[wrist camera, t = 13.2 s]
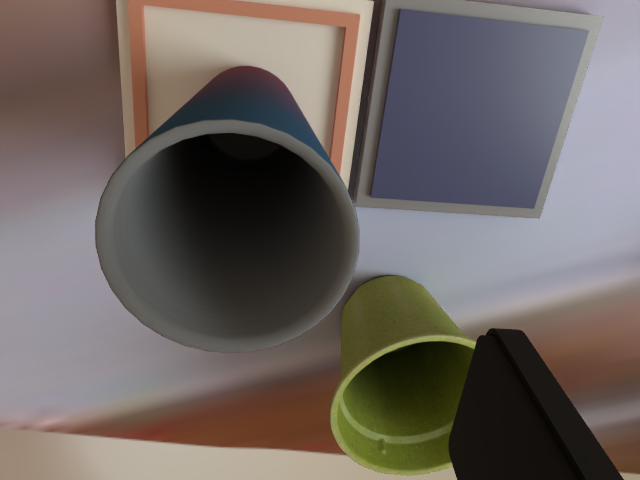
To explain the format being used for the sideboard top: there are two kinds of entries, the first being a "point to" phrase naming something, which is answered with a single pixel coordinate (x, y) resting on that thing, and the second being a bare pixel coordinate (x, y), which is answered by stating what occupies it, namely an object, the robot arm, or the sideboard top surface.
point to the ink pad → (470, 105)
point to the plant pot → (398, 378)
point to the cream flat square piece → (245, 59)
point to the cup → (229, 221)
